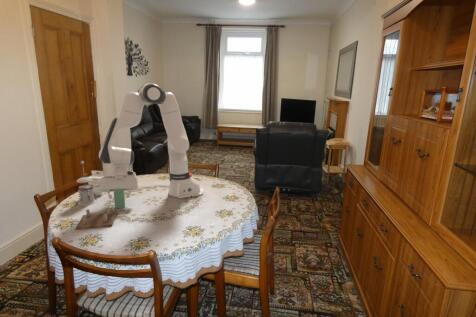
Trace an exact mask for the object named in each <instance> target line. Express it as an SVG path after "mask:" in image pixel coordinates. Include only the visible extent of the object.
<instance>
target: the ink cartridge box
mask: <svg viewBox="0 0 476 317" xmlns="http://www.w3.org/2000/svg"><path fill="white" fill-rule="evenodd" d="M104 176H105V171H103V170H91V175H90V176H88V177H90V178H92V181H90V182H87V185H88V184H89V185H92V187H93V191H94V192H93V193H94V196H98V195H100V197H102V196H104V195H106V194H107V192H102V191H101V190H100V185H101V182H100V180H101V178H102V177H104ZM88 191H90V190H88Z"/></svg>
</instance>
